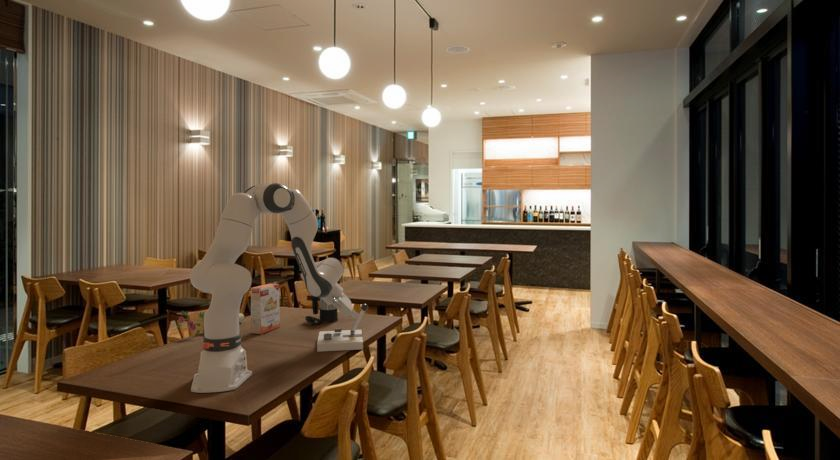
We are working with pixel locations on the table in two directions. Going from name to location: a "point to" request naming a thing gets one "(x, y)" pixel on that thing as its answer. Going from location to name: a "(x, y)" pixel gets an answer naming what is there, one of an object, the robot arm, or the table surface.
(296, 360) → the table surface
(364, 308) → the toggle lever
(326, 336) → the push button
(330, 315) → the milk frother
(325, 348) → the switch panel
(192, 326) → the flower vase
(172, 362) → the table surface
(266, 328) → the cracker box
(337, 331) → the rocker switch
